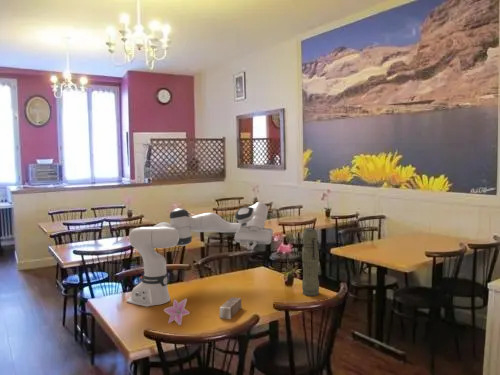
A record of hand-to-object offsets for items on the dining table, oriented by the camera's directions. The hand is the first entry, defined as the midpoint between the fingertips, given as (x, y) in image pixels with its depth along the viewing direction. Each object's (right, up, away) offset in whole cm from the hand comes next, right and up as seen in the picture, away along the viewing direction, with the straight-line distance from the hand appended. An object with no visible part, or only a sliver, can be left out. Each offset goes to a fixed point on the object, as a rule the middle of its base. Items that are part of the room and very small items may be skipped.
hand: (249, 249), depth 230 cm
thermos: (+33, -24, +3) cm, 41 cm away
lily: (-33, -29, -32) cm, 54 cm away
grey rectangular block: (-7, -24, -16) cm, 30 cm away
